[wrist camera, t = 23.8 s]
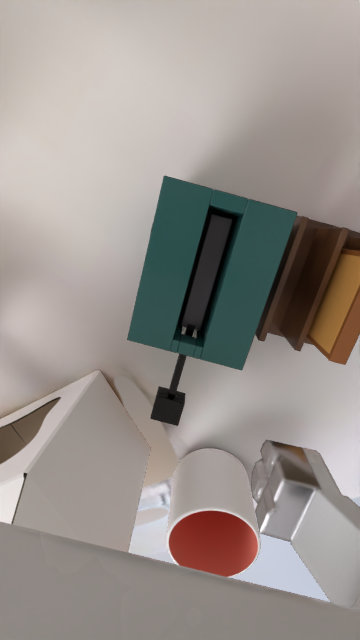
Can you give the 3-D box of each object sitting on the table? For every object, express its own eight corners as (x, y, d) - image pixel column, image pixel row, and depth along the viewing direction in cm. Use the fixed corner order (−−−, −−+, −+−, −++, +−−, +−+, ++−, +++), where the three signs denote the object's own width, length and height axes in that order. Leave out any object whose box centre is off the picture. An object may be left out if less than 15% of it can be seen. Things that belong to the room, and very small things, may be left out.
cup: (159, 480, 43) (148, 552, 34) (199, 430, 41) (199, 492, 31) (219, 514, 44) (224, 593, 35) (262, 467, 42) (280, 538, 32)
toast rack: (278, 211, 33) (298, 207, 26) (360, 234, 33) (400, 235, 26) (241, 323, 36) (250, 344, 30) (315, 343, 36) (340, 368, 30)
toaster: (230, 330, 37) (242, 370, 26) (141, 306, 37) (117, 337, 26) (266, 217, 33) (298, 212, 22) (168, 190, 33) (153, 172, 22)
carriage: (179, 414, 32) (177, 426, 30) (153, 407, 32) (150, 418, 30) (237, 221, 27) (239, 221, 25) (205, 213, 27) (206, 211, 25)
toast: (324, 246, 33) (376, 253, 23) (337, 249, 33) (395, 258, 23) (293, 325, 35) (328, 360, 26) (306, 328, 35) (345, 365, 26)
